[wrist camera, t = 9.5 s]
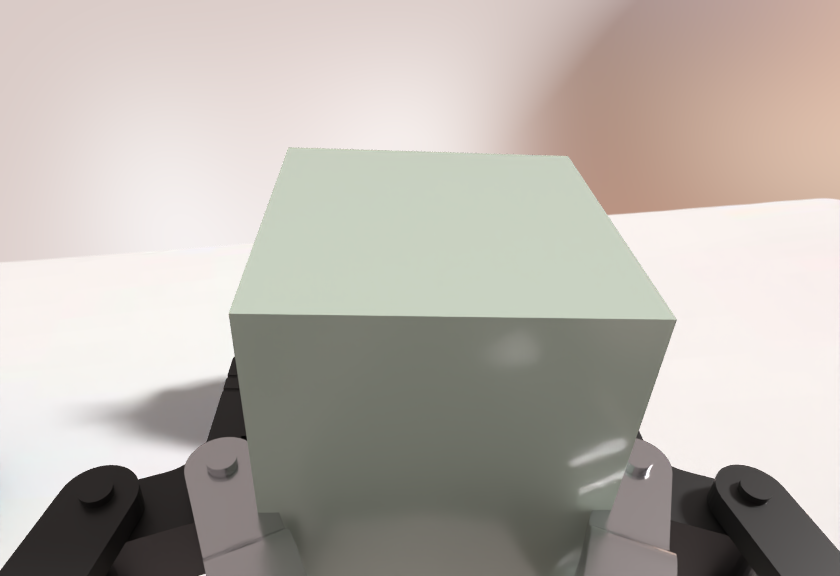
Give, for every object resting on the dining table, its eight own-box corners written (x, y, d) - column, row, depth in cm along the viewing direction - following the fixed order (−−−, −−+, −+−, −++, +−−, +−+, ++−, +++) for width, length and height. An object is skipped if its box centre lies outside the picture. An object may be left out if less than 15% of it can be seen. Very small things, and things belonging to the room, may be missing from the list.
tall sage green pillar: (312, 506, 18) (288, 147, 12) (501, 505, 19) (568, 156, 13) (288, 723, 14) (229, 313, 8) (540, 715, 14) (676, 320, 8)
